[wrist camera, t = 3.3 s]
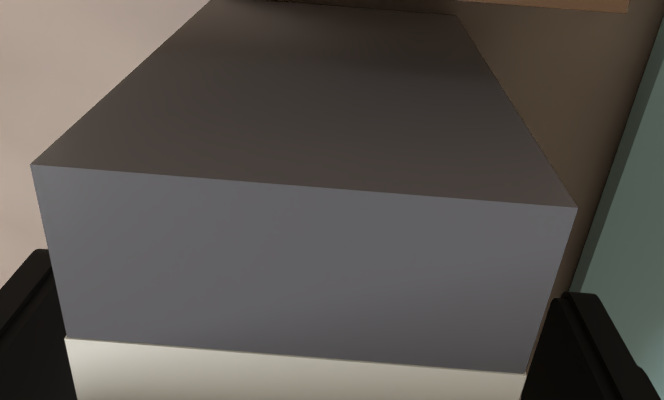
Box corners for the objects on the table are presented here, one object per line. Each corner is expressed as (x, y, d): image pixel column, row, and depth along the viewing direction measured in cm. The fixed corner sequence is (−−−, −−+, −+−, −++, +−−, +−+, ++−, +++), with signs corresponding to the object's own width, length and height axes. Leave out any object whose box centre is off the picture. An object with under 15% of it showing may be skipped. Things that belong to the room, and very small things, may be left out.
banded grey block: (213, -4, 11) (25, 165, 5) (456, 15, 11) (581, 209, 5) (227, 403, 16) (147, 723, 10) (388, 416, 16) (405, 744, 10)
